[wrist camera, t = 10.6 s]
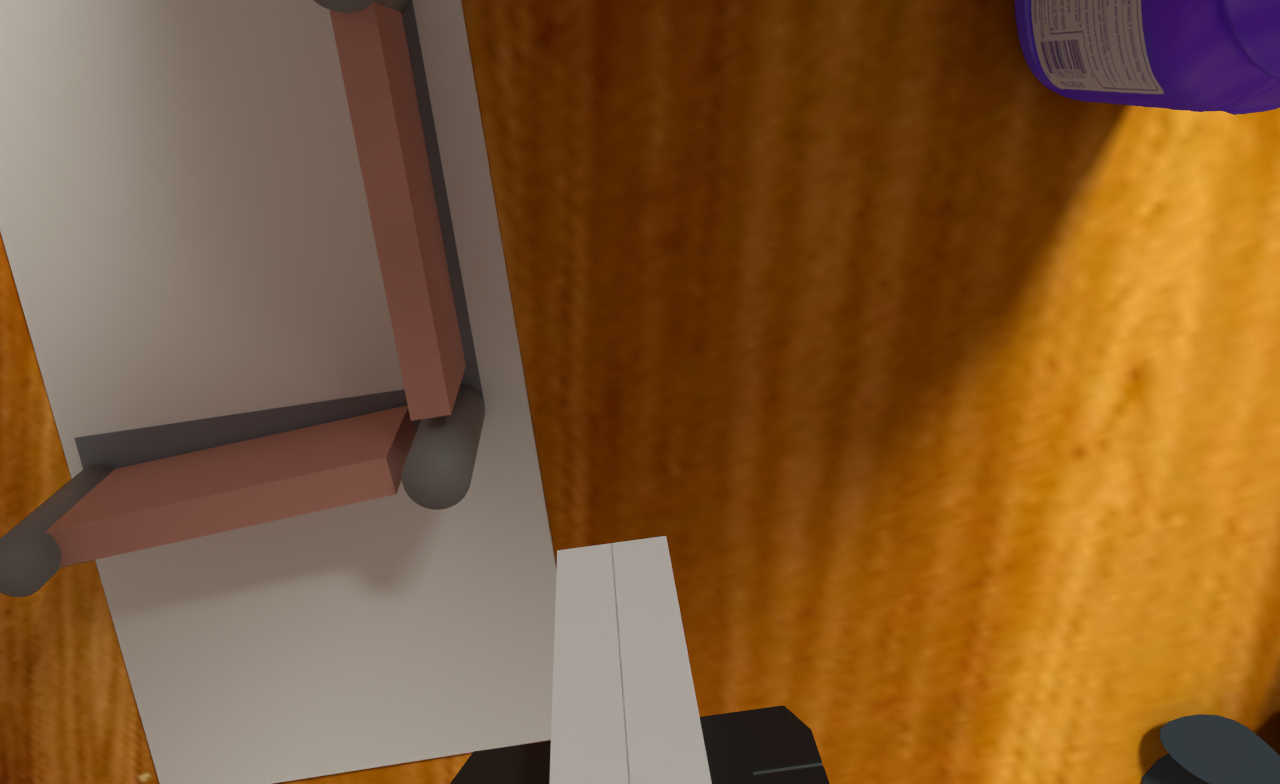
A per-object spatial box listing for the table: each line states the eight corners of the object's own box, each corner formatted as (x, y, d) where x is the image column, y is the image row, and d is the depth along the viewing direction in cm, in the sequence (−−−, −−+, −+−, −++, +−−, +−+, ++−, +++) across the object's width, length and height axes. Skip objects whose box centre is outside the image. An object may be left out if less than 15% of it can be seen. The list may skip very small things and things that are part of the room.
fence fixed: (340, -40, 36) (290, -67, 29) (403, -49, 36) (368, -77, 29) (433, 440, 40) (408, 514, 34) (489, 432, 40) (476, 504, 34)
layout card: (-61, -2, 36) (-69, -3, 35) (449, -71, 36) (448, -72, 36) (168, 794, 44) (163, 801, 43) (583, 728, 44) (583, 735, 44)
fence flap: (406, 396, 39) (377, 458, 33) (419, 445, 40) (394, 515, 34) (67, 470, 39) (-27, 546, 33) (84, 518, 40) (-5, 602, 33)
